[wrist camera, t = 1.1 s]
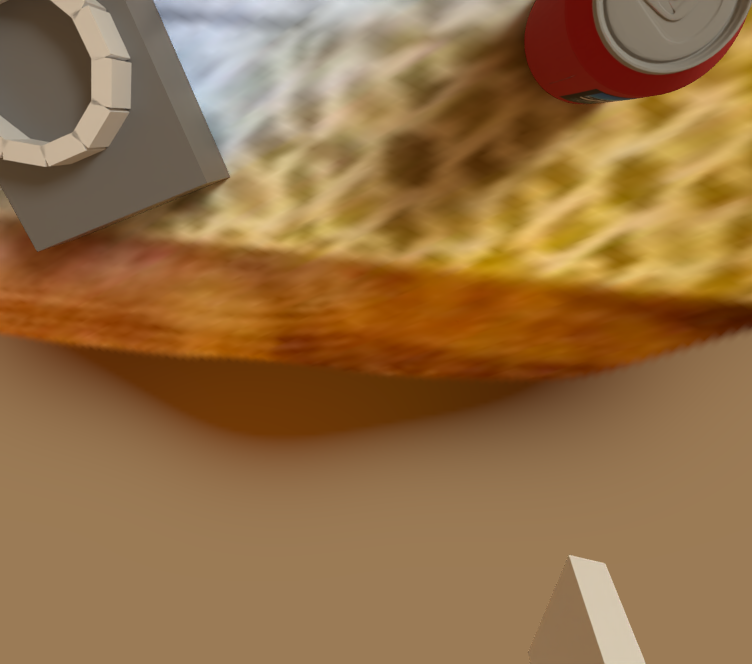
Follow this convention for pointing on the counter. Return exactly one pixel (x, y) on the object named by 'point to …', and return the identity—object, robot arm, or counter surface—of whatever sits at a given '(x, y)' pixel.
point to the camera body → (95, 117)
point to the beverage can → (627, 45)
